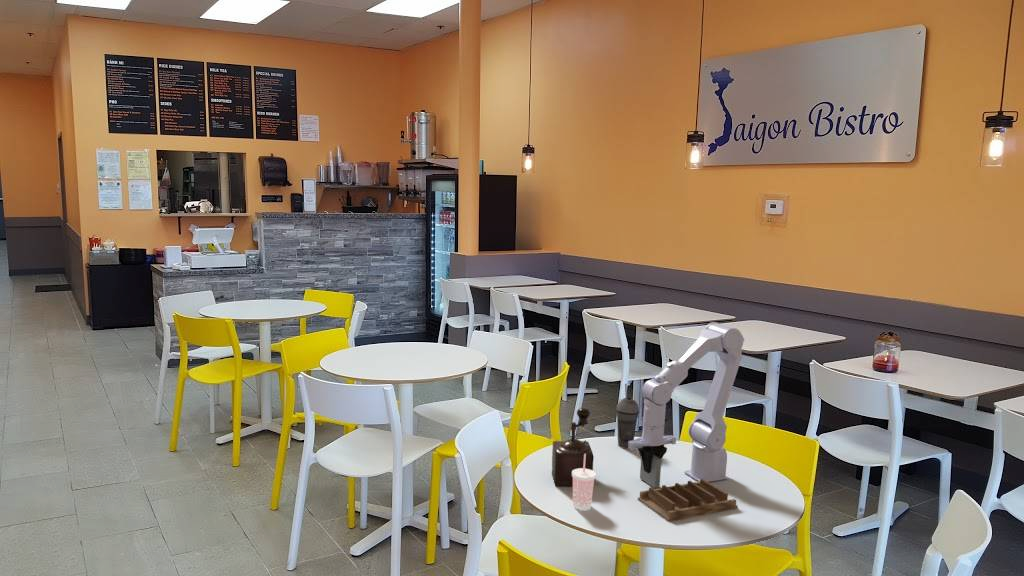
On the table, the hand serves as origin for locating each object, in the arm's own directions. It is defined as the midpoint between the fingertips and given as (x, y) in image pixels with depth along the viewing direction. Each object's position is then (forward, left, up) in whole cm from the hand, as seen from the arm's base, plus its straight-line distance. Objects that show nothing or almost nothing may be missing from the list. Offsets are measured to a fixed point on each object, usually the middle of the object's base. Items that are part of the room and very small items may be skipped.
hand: (650, 471), depth 198 cm
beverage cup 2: (-10, -27, -4) cm, 29 cm away
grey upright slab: (0, 0, -3) cm, 3 cm away
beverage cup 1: (+25, +6, -4) cm, 26 cm away
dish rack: (-2, +14, -4) cm, 15 cm away
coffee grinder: (+18, -12, -4) cm, 22 cm away
